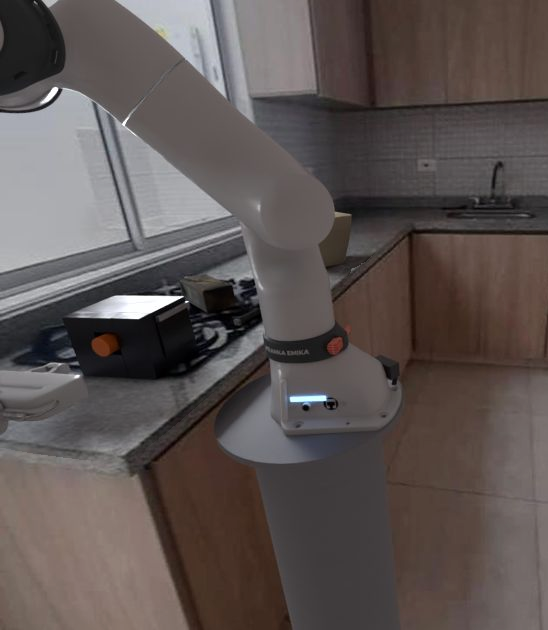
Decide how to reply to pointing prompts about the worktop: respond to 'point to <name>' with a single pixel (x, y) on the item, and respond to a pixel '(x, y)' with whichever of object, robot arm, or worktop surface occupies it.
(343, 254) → the flower pot
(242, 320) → the knife
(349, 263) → the worktop surface
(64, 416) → the worktop surface
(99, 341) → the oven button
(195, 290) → the beverage carton
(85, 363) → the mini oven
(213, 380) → the worktop surface
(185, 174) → the robot arm
